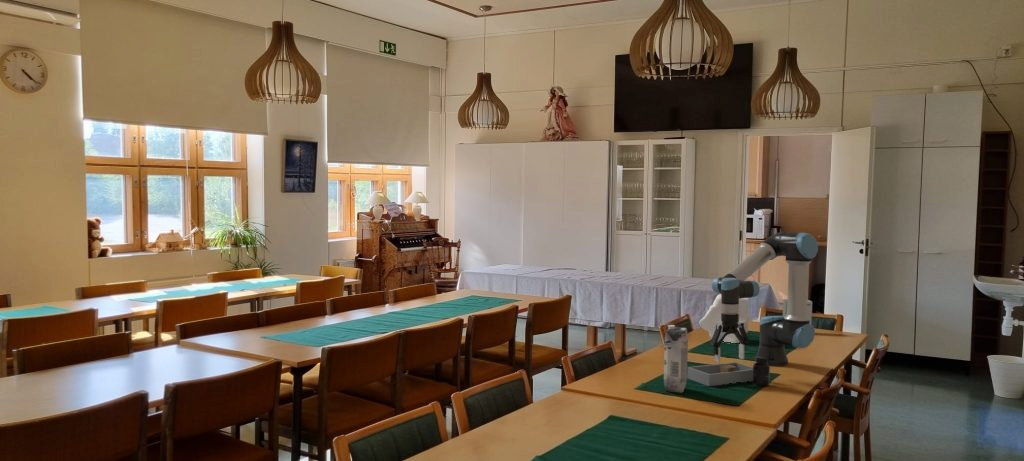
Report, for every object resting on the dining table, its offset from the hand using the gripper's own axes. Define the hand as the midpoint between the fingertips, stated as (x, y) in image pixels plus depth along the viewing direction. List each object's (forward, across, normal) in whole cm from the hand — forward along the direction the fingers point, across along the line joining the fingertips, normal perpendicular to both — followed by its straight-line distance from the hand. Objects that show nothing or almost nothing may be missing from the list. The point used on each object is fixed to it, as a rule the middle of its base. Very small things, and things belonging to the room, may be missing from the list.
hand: (729, 360), depth 322 cm
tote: (+8, +4, 0) cm, 9 cm away
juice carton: (+8, +35, +7) cm, 36 cm away
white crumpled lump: (+10, -60, -71) cm, 94 cm away
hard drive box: (+12, -116, -74) cm, 138 cm away
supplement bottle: (+9, -5, +14) cm, 17 cm away
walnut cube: (+8, +1, 0) cm, 8 cm away
